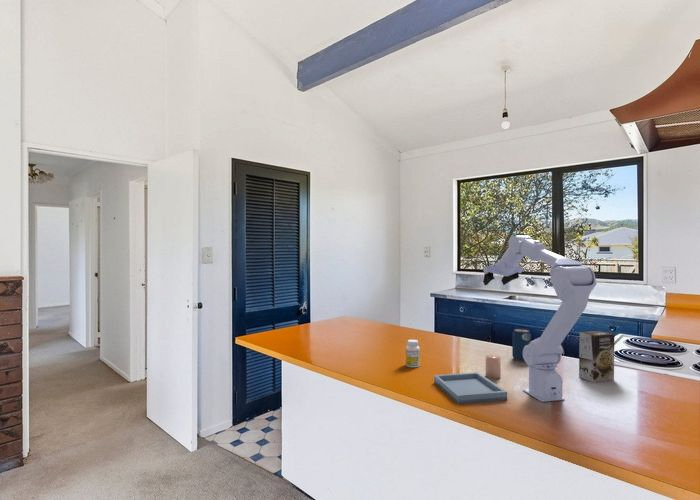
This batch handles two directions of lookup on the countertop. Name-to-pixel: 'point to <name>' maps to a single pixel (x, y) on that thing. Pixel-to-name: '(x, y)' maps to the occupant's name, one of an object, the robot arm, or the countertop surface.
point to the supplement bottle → (412, 354)
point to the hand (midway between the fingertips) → (493, 282)
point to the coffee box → (596, 356)
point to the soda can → (520, 343)
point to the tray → (470, 388)
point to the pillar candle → (493, 366)
